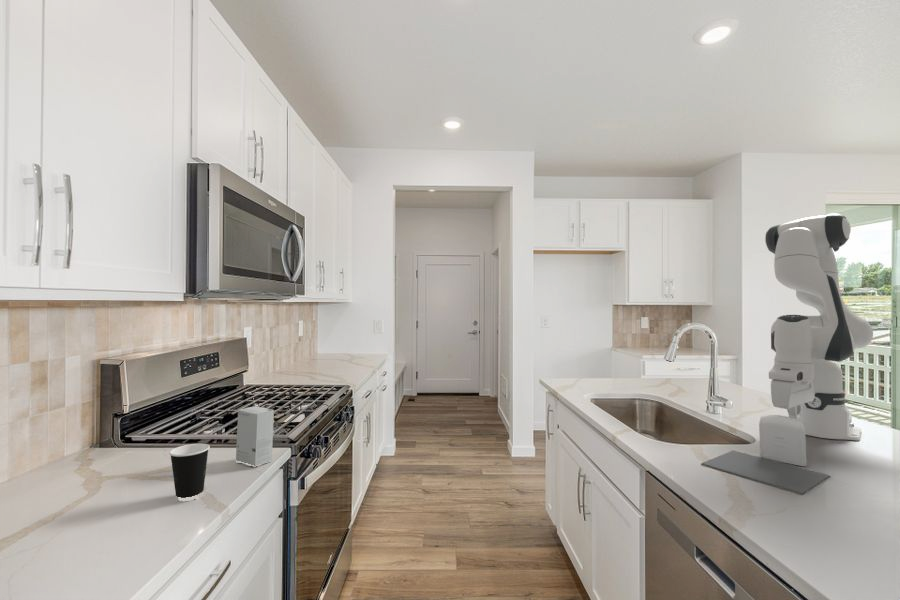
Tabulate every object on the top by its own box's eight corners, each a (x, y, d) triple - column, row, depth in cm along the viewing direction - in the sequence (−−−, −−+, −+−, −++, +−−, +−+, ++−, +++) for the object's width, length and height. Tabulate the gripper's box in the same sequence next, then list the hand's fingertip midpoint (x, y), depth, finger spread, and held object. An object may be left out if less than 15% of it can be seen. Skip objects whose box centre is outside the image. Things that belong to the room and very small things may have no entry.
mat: (733, 451, 125) (733, 450, 125) (830, 476, 107) (830, 475, 107) (701, 464, 115) (701, 463, 115) (802, 494, 97) (802, 493, 97)
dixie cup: (160, 502, 95) (160, 452, 95) (193, 487, 103) (193, 441, 103) (186, 507, 92) (186, 456, 93) (217, 492, 100) (217, 445, 100)
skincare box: (235, 463, 118) (235, 409, 118) (254, 456, 124) (253, 405, 124) (256, 468, 114) (256, 413, 114) (274, 461, 120) (274, 408, 120)
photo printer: (757, 457, 120) (756, 413, 120) (762, 454, 123) (761, 411, 123) (804, 468, 112) (803, 421, 112) (808, 464, 115) (807, 418, 115)
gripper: (794, 367, 131) (795, 412, 131) (765, 373, 120) (766, 422, 120) (820, 369, 126) (821, 417, 125) (793, 376, 115) (794, 428, 114)
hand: (794, 420), depth 122 cm, fingers closed
